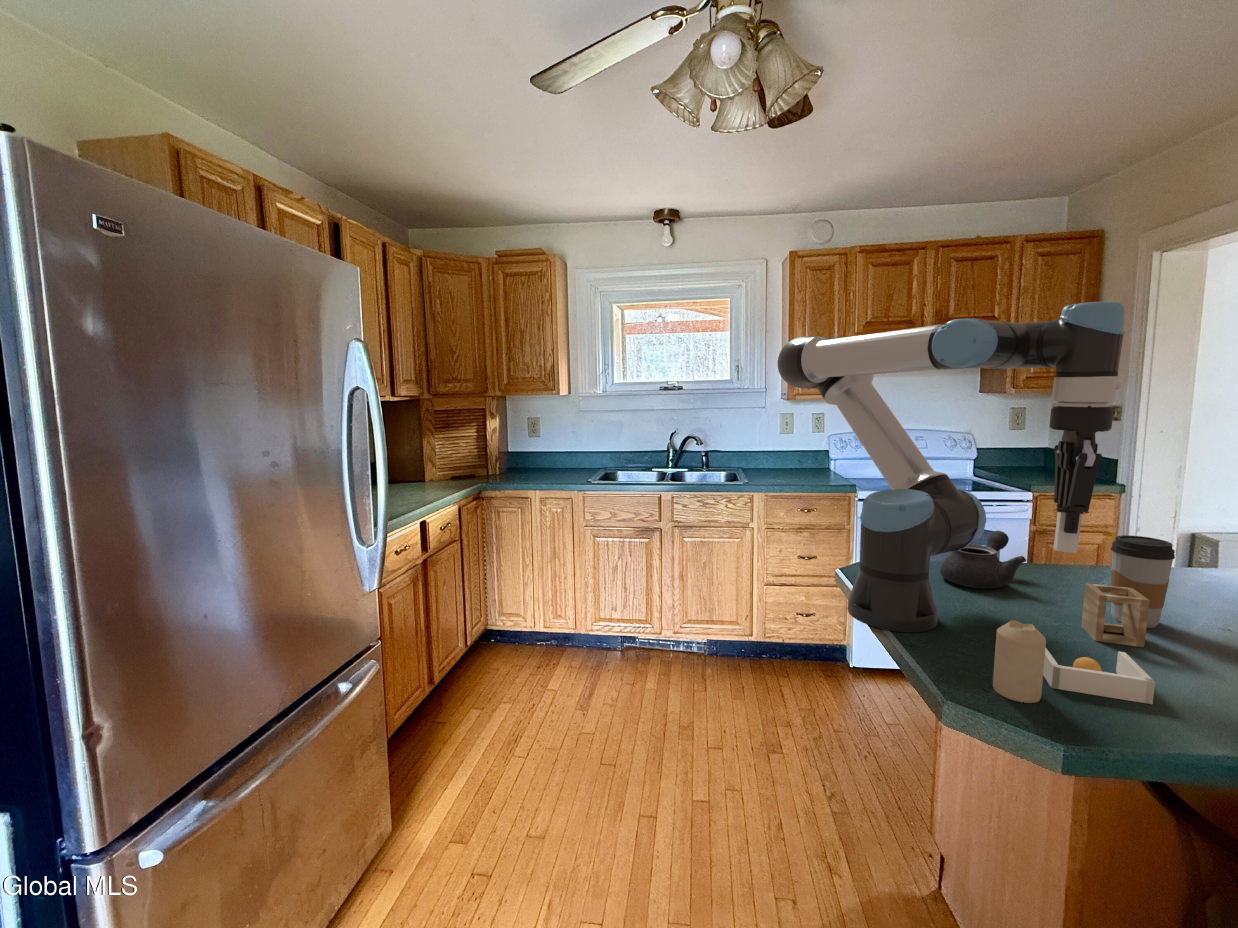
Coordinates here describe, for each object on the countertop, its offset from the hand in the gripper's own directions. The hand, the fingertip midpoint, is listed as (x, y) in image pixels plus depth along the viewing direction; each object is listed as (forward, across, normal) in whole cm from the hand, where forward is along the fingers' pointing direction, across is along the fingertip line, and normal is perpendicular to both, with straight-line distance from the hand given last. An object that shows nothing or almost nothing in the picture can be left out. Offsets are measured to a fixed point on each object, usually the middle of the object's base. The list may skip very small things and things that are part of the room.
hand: (1065, 550), depth 89 cm
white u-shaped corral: (+16, -12, -1) cm, 20 cm away
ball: (+14, -14, 0) cm, 19 cm away
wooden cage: (+16, +6, -10) cm, 20 cm away
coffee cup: (+16, +16, -16) cm, 28 cm away
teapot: (+17, +31, +5) cm, 36 cm away
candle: (+16, -20, +10) cm, 28 cm away
